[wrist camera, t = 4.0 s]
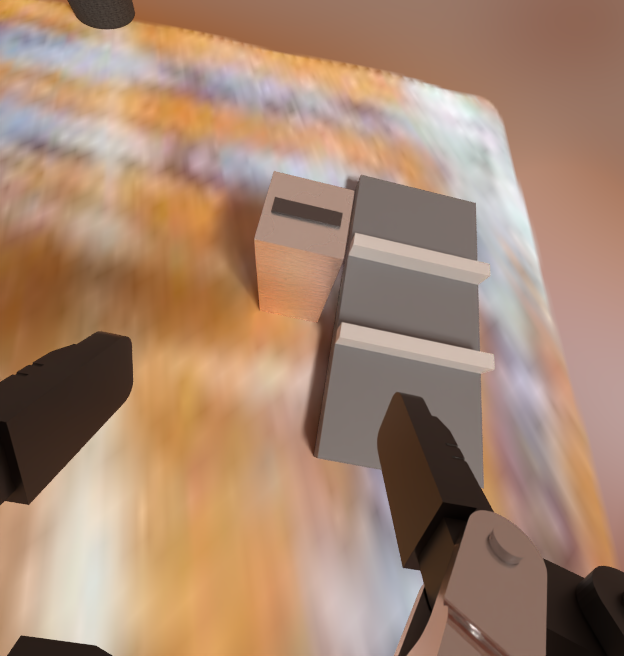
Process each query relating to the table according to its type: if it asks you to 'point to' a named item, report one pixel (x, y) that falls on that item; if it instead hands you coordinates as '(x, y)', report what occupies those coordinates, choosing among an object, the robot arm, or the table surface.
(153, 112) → the table surface
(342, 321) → the plate
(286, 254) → the block
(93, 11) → the coffee cup
